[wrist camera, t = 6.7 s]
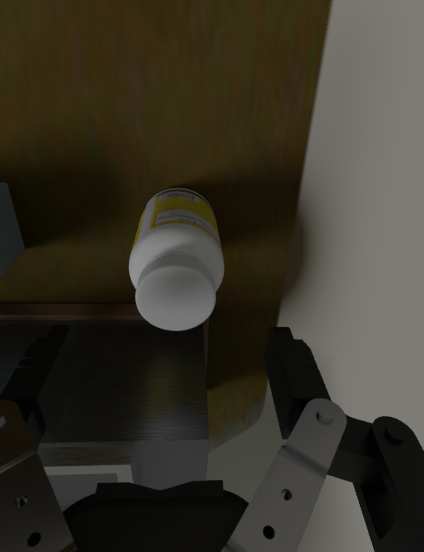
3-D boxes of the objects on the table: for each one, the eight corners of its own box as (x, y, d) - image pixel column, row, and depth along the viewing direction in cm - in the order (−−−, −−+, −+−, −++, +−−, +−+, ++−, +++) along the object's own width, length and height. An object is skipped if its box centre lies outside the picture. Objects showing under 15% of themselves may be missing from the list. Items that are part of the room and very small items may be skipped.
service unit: (11, 393, 34) (-78, 557, 22) (-24, 303, 28) (-168, 464, 17) (204, 391, 35) (210, 545, 24) (208, 304, 29) (219, 454, 18)
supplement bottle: (176, 266, 27) (170, 356, 19) (126, 217, 25) (94, 295, 16) (230, 226, 25) (250, 305, 17) (183, 169, 23) (179, 229, 15)
